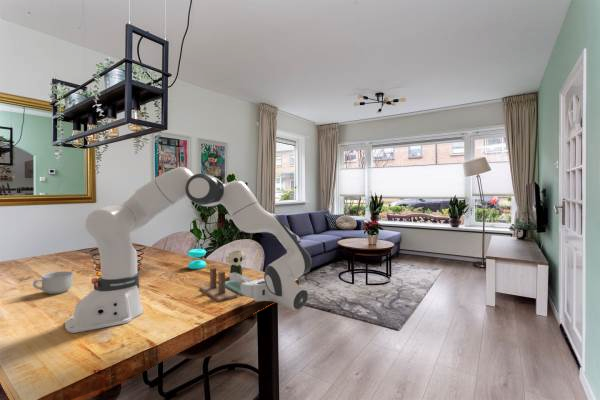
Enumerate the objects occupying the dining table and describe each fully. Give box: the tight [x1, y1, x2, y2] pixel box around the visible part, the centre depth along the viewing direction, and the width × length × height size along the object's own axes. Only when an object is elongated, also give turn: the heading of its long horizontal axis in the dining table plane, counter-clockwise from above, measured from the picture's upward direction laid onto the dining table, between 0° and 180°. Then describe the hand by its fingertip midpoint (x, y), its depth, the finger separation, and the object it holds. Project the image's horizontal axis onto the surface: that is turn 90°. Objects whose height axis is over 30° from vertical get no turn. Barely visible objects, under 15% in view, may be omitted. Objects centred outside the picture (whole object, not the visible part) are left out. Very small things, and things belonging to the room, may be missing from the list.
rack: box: [199, 266, 238, 303], centre depth 127 cm, size 8×20×10 cm, turn 40°
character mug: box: [225, 249, 246, 275], centre depth 152 cm, size 11×7×13 cm, turn 130°
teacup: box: [32, 270, 74, 295], centre depth 128 cm, size 14×11×8 cm
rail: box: [229, 272, 254, 287], centre depth 134 cm, size 3×16×4 cm, turn 40°
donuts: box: [187, 248, 207, 270], centre depth 171 cm, size 10×10×10 cm
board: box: [225, 280, 245, 296], centre depth 134 cm, size 9×19×1 cm, turn 40°
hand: (255, 280), depth 123 cm, fingers open, 8 cm apart
